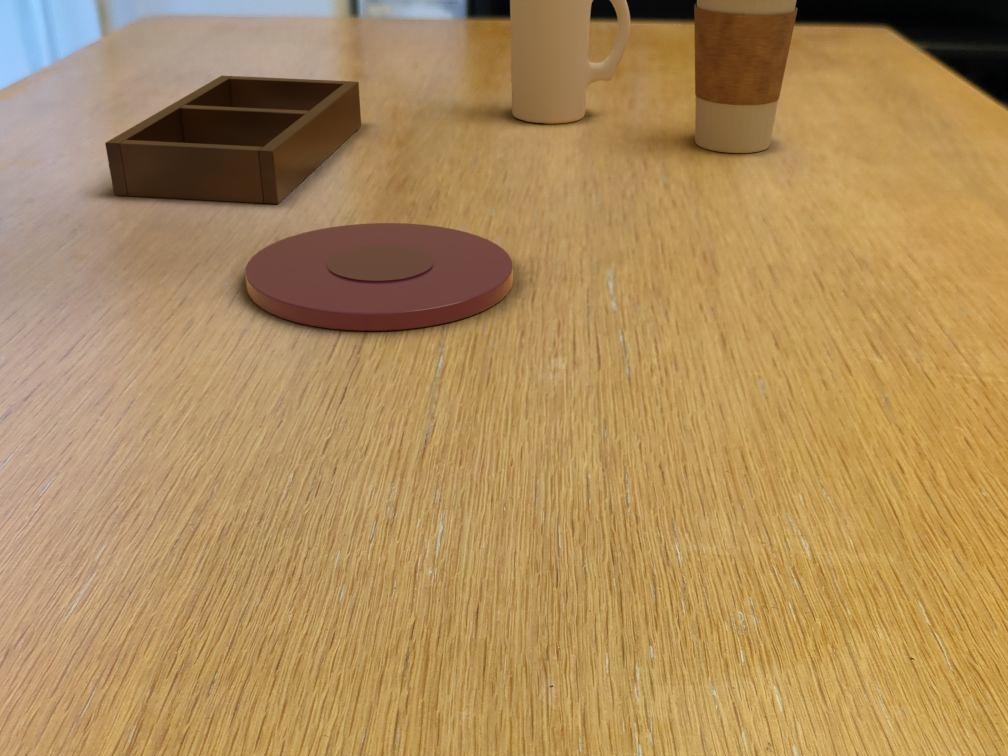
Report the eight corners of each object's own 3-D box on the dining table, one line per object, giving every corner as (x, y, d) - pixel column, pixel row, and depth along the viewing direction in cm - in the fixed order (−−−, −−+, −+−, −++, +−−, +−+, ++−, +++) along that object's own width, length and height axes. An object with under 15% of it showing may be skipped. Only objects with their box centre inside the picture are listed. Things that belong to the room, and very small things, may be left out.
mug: (511, 125, 100) (512, -34, 94) (506, 106, 106) (506, -45, 100) (631, 124, 101) (640, -33, 95) (619, 106, 107) (627, -44, 100)
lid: (207, 321, 63) (204, 301, 63) (293, 232, 76) (291, 214, 75) (489, 340, 62) (489, 319, 61) (529, 245, 74) (529, 228, 74)
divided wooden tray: (113, 195, 82) (104, 142, 80) (226, 119, 100) (221, 75, 99) (278, 204, 81) (272, 151, 79) (361, 126, 99) (358, 81, 97)
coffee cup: (760, 163, 91) (785, -57, 83) (661, 146, 95) (675, -66, 87) (801, 140, 97) (828, -67, 89) (706, 126, 101) (723, -75, 93)
